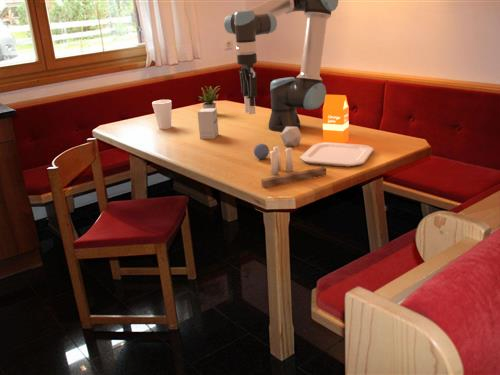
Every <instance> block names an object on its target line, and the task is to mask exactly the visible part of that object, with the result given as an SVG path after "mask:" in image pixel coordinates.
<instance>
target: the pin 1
mask: <svg viewBox="0 0 500 375" xmlns="http://www.w3.org/2000/svg"><path fill="white" fill-rule="evenodd" d="M269 153H270V168H271V169H270V171H271V176H277V175H279V170H278V160H277V151H274V150H269Z"/></svg>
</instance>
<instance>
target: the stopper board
mask: <svg viewBox="0 0 500 375" xmlns="http://www.w3.org/2000/svg"><path fill="white" fill-rule="evenodd" d="M323 175H326V176H327V168H326V167H324V166H323V167H317V168H312V169H307V170H303V171H298V172H290V173H286V174H282V175H278V176H277V175H275V176H272V177H267V178H262V179H261V180H260V181H261V187H262V188H263V187H267V188H270V187H269V186H272V187H275V186H274V185H277V186H280V185H279V184H282V185H285V184H284V183H287V184H291V183H290V182H292V183H296V182H295V181H297V182H300V180H301V181H306V180H311V179H315V178H314V177H316V178H320V177H319V176H321V177H324V176H323ZM310 178H311V179H310Z"/></svg>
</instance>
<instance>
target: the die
mask: <svg viewBox="0 0 500 375" xmlns="http://www.w3.org/2000/svg"><path fill="white" fill-rule="evenodd" d="M302 138H303V136H302V134H301V131H300V128H298V127H285V129H284V130H283V131H281V134H280V139H281V140H282V143H283V145H284V146H285V147H298V145H299V143H300V142H301V140H302Z"/></svg>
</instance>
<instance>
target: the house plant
mask: <svg viewBox="0 0 500 375" xmlns="http://www.w3.org/2000/svg"><path fill="white" fill-rule="evenodd" d="M204 87H205V88H206V90H205V89H204ZM204 87H200V88H201V90H202V96H198V98H200V99H198V101H202V102H203V103H202V106H203V108H202V109H206V108H217V107H216V106H217V105H216V104H217V102H214V101H217V99H219V98H218V96H219V95H220V93H219V94H216V93H217V92H218V91H219V90H220V89H221V88H219V87H220V85H218V86H216V87H214V89H213V88H212V86H209V87H207V86H206V85H204ZM208 88H209V89H208ZM206 91H207V92H206Z"/></svg>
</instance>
